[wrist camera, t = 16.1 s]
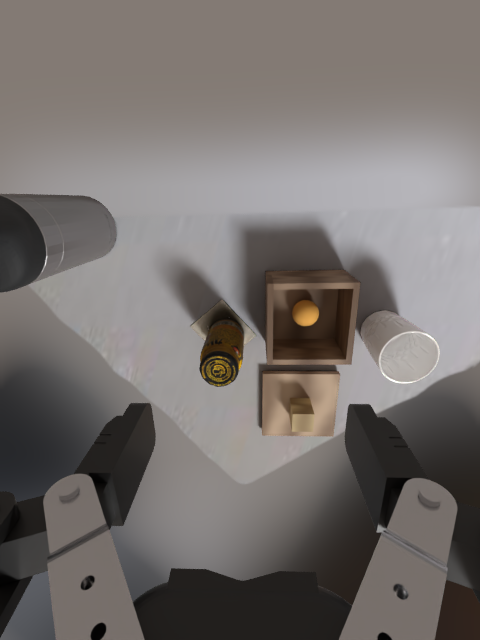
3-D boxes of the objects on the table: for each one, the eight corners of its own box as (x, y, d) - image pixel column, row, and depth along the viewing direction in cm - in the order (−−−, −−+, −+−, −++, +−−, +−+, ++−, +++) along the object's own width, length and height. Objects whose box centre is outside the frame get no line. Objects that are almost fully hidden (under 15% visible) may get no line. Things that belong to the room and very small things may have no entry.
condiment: (224, 360, 55) (217, 401, 44) (190, 326, 53) (173, 360, 42) (256, 335, 53) (257, 371, 42) (222, 298, 51) (213, 326, 40)
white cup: (350, 317, 51) (371, 343, 42) (399, 299, 50) (432, 322, 40) (364, 357, 53) (387, 391, 44) (411, 340, 52) (445, 371, 43)
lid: (261, 428, 60) (262, 453, 54) (262, 368, 55) (263, 388, 49) (330, 429, 59) (339, 454, 54) (337, 369, 55) (347, 389, 49)
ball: (290, 320, 51) (293, 330, 47) (291, 297, 49) (294, 304, 46) (315, 320, 51) (320, 330, 47) (317, 296, 49) (322, 304, 45)
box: (265, 341, 53) (267, 364, 46) (265, 271, 49) (267, 283, 41) (337, 341, 53) (351, 364, 45) (344, 269, 48) (360, 282, 41)
